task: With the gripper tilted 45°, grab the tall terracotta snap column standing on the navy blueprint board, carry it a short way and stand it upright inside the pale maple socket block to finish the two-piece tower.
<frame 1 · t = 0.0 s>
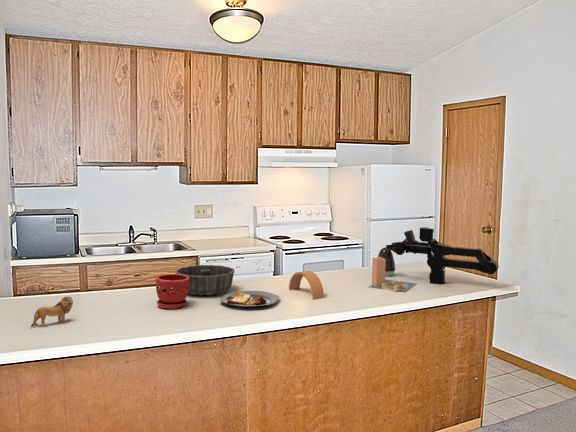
hand: (389, 244, 257), 17 cm above the countertop, tool horizontal, fingers open, 9 cm apart
food plate: (249, 303, 207), on the countertop
arch: (305, 294, 222), on the countertop
blueprint board: (393, 286, 237), on the countertop
maple socket block: (394, 289, 229), resting on blueprint board
bundt pan: (205, 292, 224), on the countertop
plant pot: (173, 306, 200), on the countertop
terracotta column: (378, 285, 236), point 1 cm above the countertop, touching blueprint board
black tapered dome: (384, 276, 259), on the countertop
lion figurine: (53, 323, 177), on the countertop
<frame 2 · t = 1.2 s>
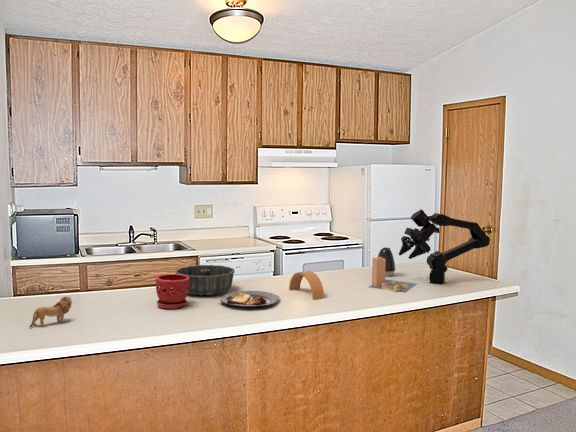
hand: (404, 256, 240), 14 cm above the countertop, tool tilted 45°, fingers open, 9 cm apart
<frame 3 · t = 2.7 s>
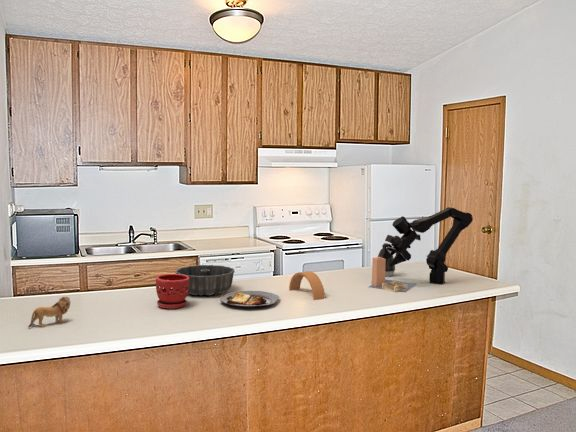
hand: (384, 264, 236), 11 cm above the countertop, tool tilted 45°, fingers open, 9 cm apart
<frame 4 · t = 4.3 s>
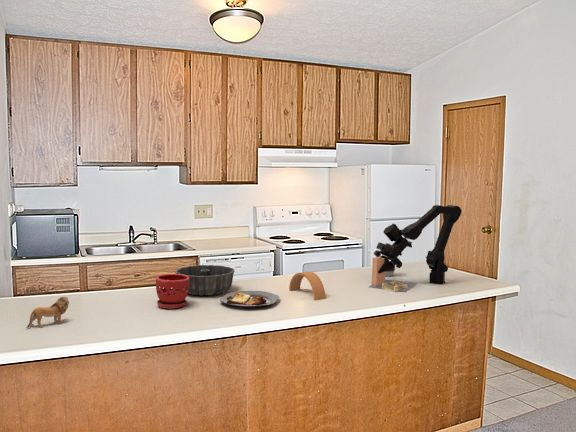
hand: (376, 271, 235), 7 cm above the countertop, tool tilted 45°, fingers closed on terracotta column, 4 cm apart
terracotta column: (378, 285, 236), point 1 cm above the countertop, touching blueprint board, gripper
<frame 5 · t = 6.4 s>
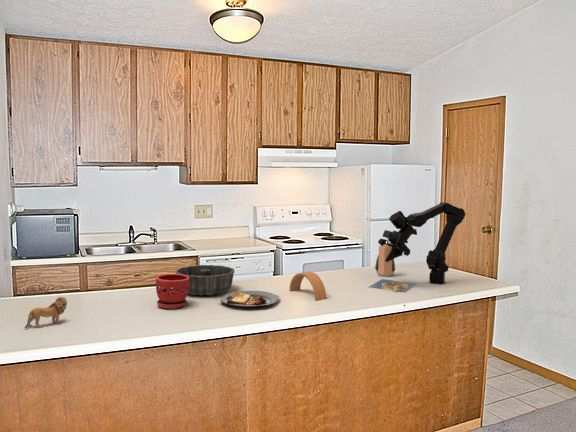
hand: (382, 260, 231), 13 cm above the countertop, tool tilted 45°, fingers closed on terracotta column, 4 cm apart
terracotta column: (385, 273, 232), point 7 cm above the countertop, touching gripper
when the fingers open (9 cm above the countertop, at t = 8.4 s): terracotta column drops 1 cm, resting on maple socket block.
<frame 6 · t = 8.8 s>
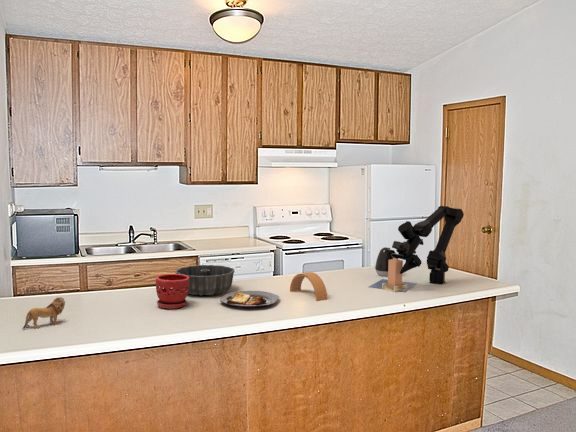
hand: (393, 271, 228), 9 cm above the countertop, tool tilted 45°, fingers open, 9 cm apart
terracotta column: (394, 287, 229), point 1 cm above the countertop, touching maple socket block
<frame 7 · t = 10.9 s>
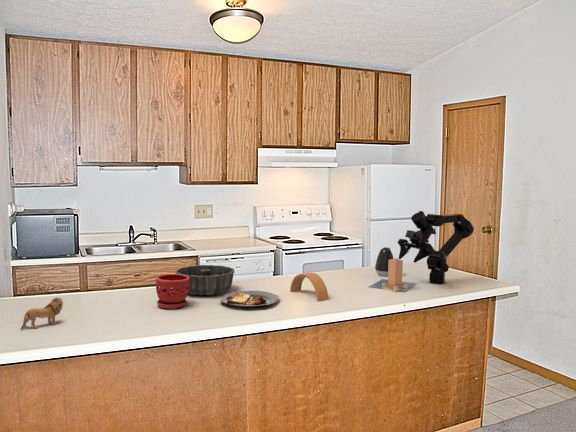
hand: (406, 260, 232), 13 cm above the countertop, tool tilted 45°, fingers open, 9 cm apart
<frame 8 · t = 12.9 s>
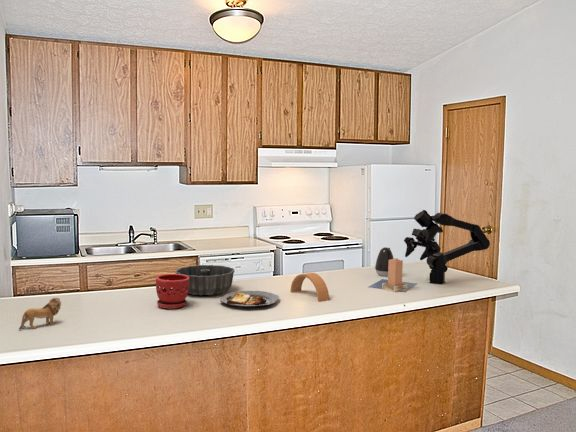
hand: (412, 258, 237), 14 cm above the countertop, tool tilted 45°, fingers open, 9 cm apart
at the end: terracotta column 0.0 cm off-centre on the maple socket block, point 0.6 cm above the maple socket block's base; terracotta column tilted 0°; the gripper is holding nothing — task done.
